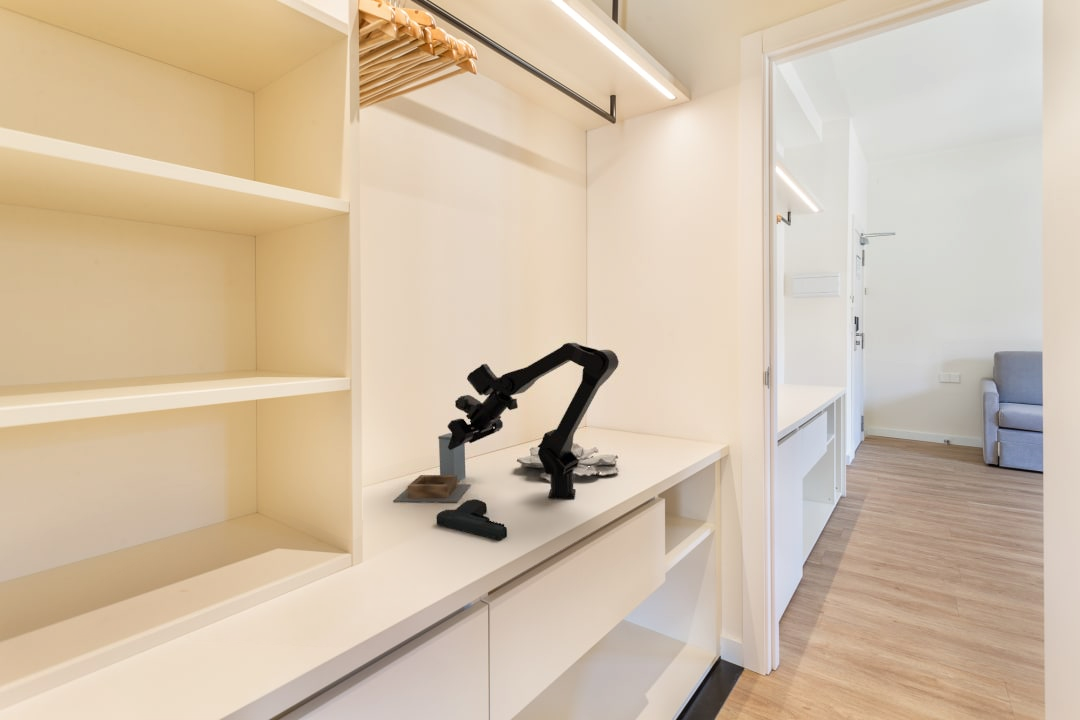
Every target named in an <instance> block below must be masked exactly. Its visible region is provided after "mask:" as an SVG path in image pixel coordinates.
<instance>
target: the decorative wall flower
mask: <svg viewBox="0 0 1080 720" xmlns="http://www.w3.org/2000/svg"><path fill="white" fill-rule="evenodd" d="M539 448H540V447H538V446H535V447H531V448H530V449H529V451H530V455H529V456H524V457H518V458H517V459H516V462H517V463H519V464H522V467H524V468H525V467H526V468H534V469H535V468H536V469H542V468H543V469H544V467H543V464H542V462H541V461H540V459H539V456H538V451H539ZM571 452H572V453H573V454H574V455H575V456H576V457H577V458H578V459H579V462H578V465H577V467H576V468H574V469H572V470H573V479H574V478H575V475H577V476H580V477H582V476H588V477H590V476H594V475H595V476H602V477H603V476H608V475H615V474H618V473H619V470H618V467H616V466H615V467H614V466H613V465H616V464H617V460H616V459H619V456H618V455H614V454H602V455H600V454H599V455H595V456H593V455H594V453H597V454H598V453H599V450H598V449H597V447H593V448H591V449H588V450H587V449H585V448H584V447H582V446H581V445H579V444H578V443H573V445H572V448H571ZM588 457H589V458H588ZM586 458H587V459H586ZM588 466H590V467H588ZM600 472H601V473H602V474H600ZM604 473H605V474H604ZM596 474H597V475H596ZM539 477H540V478H542V479H544V480H547V481H548V482H550V474H546V473H545V472H542V473H540V474H539Z"/></svg>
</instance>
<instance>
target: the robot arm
mask: <svg viewBox="0 0 1080 720" xmlns="http://www.w3.org/2000/svg"><path fill="white" fill-rule="evenodd" d="M618 358H619V357H618V356H617V354H616V353H615V352H614V351H613V350H611V349H596V348H592V347H588V346H584V345H582V344H579V343H577V342H566V343H563V344H562V345H561V346H560V347H558V348H557V349H555V350H553V351H552V352H550V353H548V354H546V355H545V356H543V357H541V358H540V359H538V360H536V361H535V362H532V363H531V364H529V365H528V366H525V367H523V368H520V369H516V370H513V371H509V372H507V373H504V374H502V375H501V376H499V377H497V375H496V374H495V373H494V372H493V371H492V369H491V368H490V366H489V365H488V364H487V363H482V364H481V365H480V366H478V367H477V368H475V369H474V370H473V371H471V372H469V374H468V375H467V378H466V380H467V381H468V382H469V384H470V385H471V386H472V388H473V389H474V390H475V392H477V394H478V396H483V395H484V396H485V400H483V402H481V401H480V400H478V399H477V398H475V397H474V396H472V395H469V394H466V395H465V394H464V395H461V396H459V397H457V399H456V400H455V404H454V406H455V408H457V409H458V410H459V411H462V412H464V413H465V414H466V415H465V416H466V418H467V420H469V423H467V422H466V420H465V419H464V418H455V419H452V420H451V421H450V422H449V423H448V424H447V428H448V430H449V432H450V433H452V436H451V439H450V442H449V445H448V449H449V450H452V449H454V448H456V447H458V446H461V445H463V444H465V445H466V443H469V444H472V443H475V442H476V441H479V440H481V439H484V438H486V437H488V436H491V435H493V434H495V433H497V432H500V430H501V429H502V428H503V426H504V425H503V421H502V420H501V418H502V416H501V415H502V414H503V413H504V411H506V409H508V410H509V411H512V410H515V409H518V406H519V405H518V402H517V400H518V399H517V398H513V397H512V396H515V395H519V394H523V393H525V392H527V390H528V389H530V388H531V387H533V386H534V384H535V383H536V382H537V381H538V380H539V379H541V378H542V377H544V376H545V375H547V374H549V373H552V372H553V371H555V370H557V369H558V368H560V367H562V366H564V365H565V364H567V363H569V362H572V363H574V364H576V365H577V366H580V367H583V368H582V375H581V382H580V384H579V385H578V387H577V390H576V391H575V394H574V395H573V396H572V398H571V401H570V403H569V405H568V407H567V408H566V410H565V413H564V414H563V415H562V418H561V420H560V422H559V424H558V425H557V427H556V428H555V429H552V430H549V431H547V432H545V433H544V435H543V437H542V440H541V442H540V443H539V444H538V445H537V447H540V448H539V451H538V456H539V459H540V461H541V462H542V464H543V467H544V468H543V469H544V473H546V474H550V481H549V483H550V489H549V492H548V494H547V495H548V496H547V499H556V500H557V499H563V500H569V499H570V500H575V498H576V489H575V488H574V478H573V470H572V469H574V468H576V467H577V465H578V462H579V459H578V458H577V457H576V456H575V455H574V454H573V453H572V452H571V448H572V445H573V444H574V436H575V433H576V431H577V429H578V428H579V426H580V424H581V422H582V420H583V419H584V416H585V415H586V413H587V411H588V409H589V407H590V405H591V404H592V402H593V400H594V398H595V396H596V395H597V393H598V391H599V389H600V388H601V386H603V385H604V383H606V381H607V380H608V379H609V378H610V377H611V376H612V375H613V374H614V372H615V371H616V370H617V368H618V366H619V359H618Z"/></svg>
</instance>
